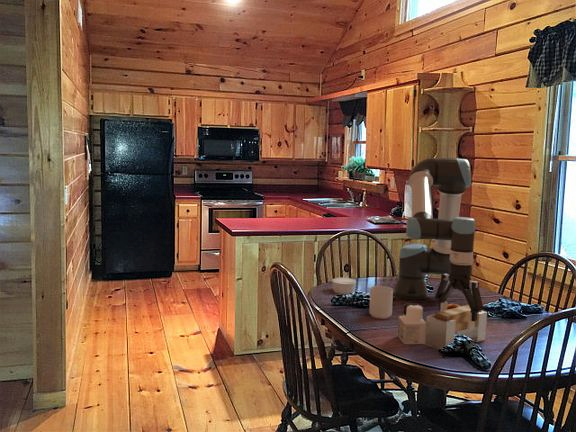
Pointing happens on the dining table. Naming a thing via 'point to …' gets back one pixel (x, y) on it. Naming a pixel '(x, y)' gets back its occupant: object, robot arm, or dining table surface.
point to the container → (412, 325)
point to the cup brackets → (452, 331)
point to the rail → (456, 317)
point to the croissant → (452, 306)
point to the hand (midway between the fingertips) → (456, 324)
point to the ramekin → (343, 285)
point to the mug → (381, 301)
